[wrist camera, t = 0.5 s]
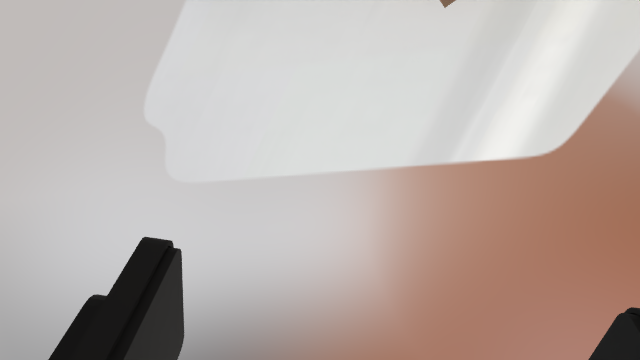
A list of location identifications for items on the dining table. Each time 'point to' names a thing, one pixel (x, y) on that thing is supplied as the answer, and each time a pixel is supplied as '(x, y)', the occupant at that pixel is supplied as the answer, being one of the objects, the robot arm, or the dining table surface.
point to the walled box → (446, 2)
